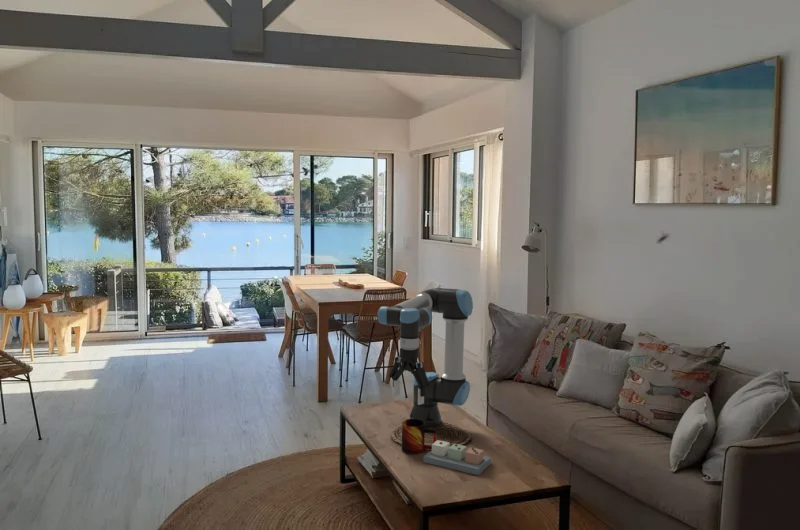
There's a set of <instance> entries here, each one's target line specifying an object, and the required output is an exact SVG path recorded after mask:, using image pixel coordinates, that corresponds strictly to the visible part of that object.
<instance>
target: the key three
mask: <svg viewBox="0 0 800 530" xmlns="http://www.w3.org/2000/svg"><path fill="white" fill-rule="evenodd" d="M484 451H485V450H484V449H480V448H476V447H470V448H468V449H466V453H465V462H467V463H471V464H475V465H480V463H481V462H482V461H483V457H484V456H485V455H484V453H485V452H484Z"/></svg>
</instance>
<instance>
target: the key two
mask: <svg viewBox="0 0 800 530" xmlns="http://www.w3.org/2000/svg"><path fill="white" fill-rule="evenodd" d="M466 451H467V445H462V444H458V443H453V444H452V445H450V447H449V448H448V458H450V459H454V460H458V461H462V459H464V458H465V453H466Z"/></svg>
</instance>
